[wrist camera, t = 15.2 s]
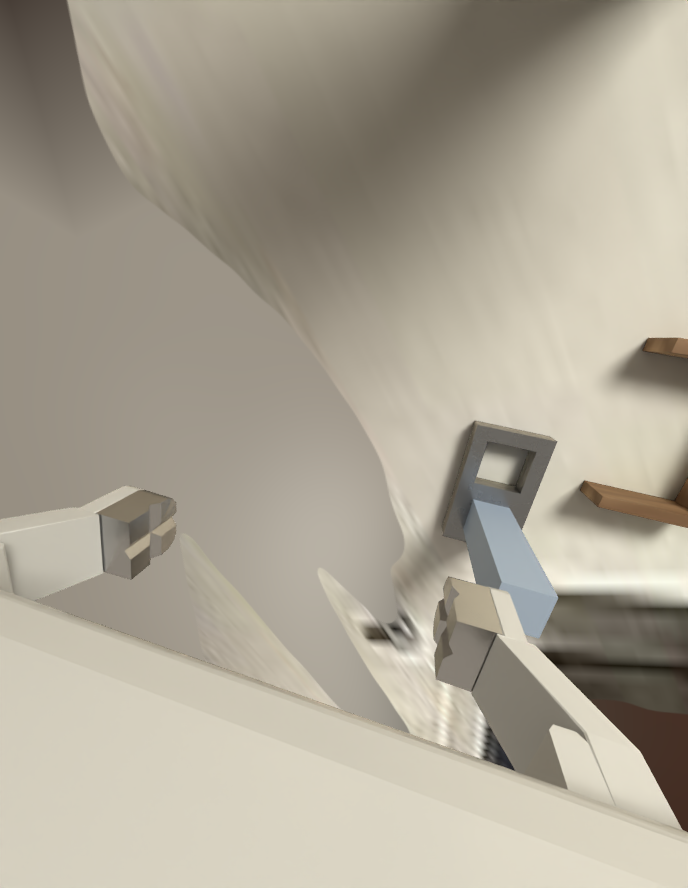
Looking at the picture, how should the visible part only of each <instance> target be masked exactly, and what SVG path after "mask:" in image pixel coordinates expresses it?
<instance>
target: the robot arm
mask: <svg viewBox="0 0 688 888" xmlns="http://www.w3.org/2000/svg"><path fill="white" fill-rule="evenodd" d="M175 513H176V502H175V501H174V500H173V499H172V498H169V497H166V496H163V495H159V494H156V493H153V492H150V491H146V490H142V489H140V488H136V487H132V486H123V487H121V488H119V489H117V490H115V491H113V492H111V493H109V494H107V495H105V496H103V497H100V498H98V499H96V500H94V501H92V502H90V503H88V504H86V505H84V506H82V507H80V508H75V507H71V508H65V509H59V510H53V511H47V512H41V513H35V514H29V515H23V516H17V517H11V518H5V519H0V888H688V832H686V831H683V830H682V829H681V827H680V825H679V823H678V821H677V819H676V818H675V816H674V814H673V812H672V810H671V808H670V806H669V804H668V803H667V801H666V799H665V797H664V795H663V793H662V791H661V790H660V788H659V786H658V784H657V782H656V780H655V778H654V777H653V775H652V773H651V771H650V769H649V767H648V765H647V764H646V762H645V760H644V758H643V756H642V754H641V753H640V751H639V750H638V749H637V748H636V747H635V746H634V745H633V744H632V743H631V742H630V741H629V740H628V739H627V738H626V737H625V736H624V735H623V734H622V733H621V732H620V731H619V730H618V729H617V728H616V727H615V726H614V725H613V724H612V723H611V722H610V721H609V720H608V719H607V718H606V717H605V716H604V715H603V714H602V713H601V712H600V711H599V710H598V709H597V708H596V707H595V706H594V705H593V704H592V703H591V702H590V701H589V700H588V699H587V698H586V697H585V695H584V694H583V693H582V692H581V691H580V690H579V689H578V688H577V687H576V686H575V685H574V684H573V683H572V682H571V681H570V680H569V679H568V678H567V677H566V676H565V675H564V674H563V673H562V672H561V671H560V670H559V669H558V668H557V667H556V666H555V665H554V664H553V663H552V662H551V661H550V660H549V659H548V658H547V657H546V656H545V655H544V654H543V653H542V652H541V651H540V650H539V649H538V648H537V647H536V646H535V645H533V644H529V643H528V642H527V639H526V636H525V634H524V631H523V628H522V625H521V623H520V620H519V617H518V615H517V612H516V609H515V607H514V604H513V601H512V599H511V596H510V594H509V593H508V592H507V591H504V590H500V589H496V588H492V587H488V586H487V587H486V586H482V585H478V584H474V583H471V582H467V581H463V580H460V579H456V578H452V577H449V576H448V578H447V580H446V582H445V585H444V588H443V592H444V599H442V600H441V601H439V602H438V606H437V609H436V613H435V618H434V627H433V636H434V641H435V642H436V643H437V648H436V651H435V654H434V657H435V674H436V679H437V680H439V681H442V682H445V683H448V684H451V685H453V686H456V687H459V688H462V689H465V690H467V691H470V692H472V696H473V697H474V699H475V701H476V703H477V704H478V706H479V708H480V710H481V711H482V713H483V715H484V717H485V718H486V720H487V722H488V723H489V725H490V727H491V729H492V730H493V732H494V734H495V736H496V737H497V739H498V741H499V743H500V744H501V746H502V748H503V750H504V751H505V753H506V755H507V756H508V758H509V760H510V762H511V763H512V765H513V767H514V769H515V770H516V771H513V770H510V769H508V768H505V767H502V766H499V765H496V764H493V763H491V762H488V761H485V760H482V759H479V758H476V757H474V756H471V755H468V754H465V753H462V752H460V751H457V750H454V749H451V748H448V747H445V746H442V745H440V744H437V743H434V742H431V741H428V740H425V739H423V738H420V737H417V736H414V735H411V734H408V733H406V732H403V731H400V730H397V729H394V728H391V727H389V726H386V725H383V724H380V723H377V722H374V721H371V720H369V719H366V718H363V717H360V716H357V715H355V714H352V713H349V712H346V711H343V710H341V709H338V708H335V707H332V706H329V705H326V704H324V703H321V702H318V701H315V700H312V699H310V698H307V697H304V696H301V695H298V694H295V693H293V692H290V691H287V690H284V689H281V688H279V687H276V686H273V685H270V684H267V683H264V682H262V681H259V680H256V679H253V678H250V677H248V676H245V675H242V674H239V673H236V672H233V671H231V670H228V669H225V668H222V667H219V666H216V665H214V664H211V663H208V662H205V661H202V660H199V659H197V658H193V657H191V656H188V655H185V654H182V653H179V652H177V651H174V650H171V649H168V648H165V647H162V646H160V645H157V644H154V643H151V642H148V641H146V640H143V639H140V638H137V637H134V636H131V635H129V634H126V633H123V632H120V631H117V630H114V629H112V628H109V627H106V626H103V625H100V624H97V623H94V622H92V621H89V620H86V619H83V618H80V617H78V616H75V615H72V614H69V613H66V612H63V611H60V610H58V609H55V608H52V607H49V606H46V605H44V604H41V603H38V602H35V601H36V600H38V599H41V598H43V597H46V596H48V595H51V594H53V593H56V592H58V591H61V590H63V589H66V588H68V587H70V586H73V585H75V584H78V583H81V582H83V581H85V580H88V579H90V578H93V577H95V576H98V575H100V574H103V572H106V573H110V574H113V575H116V576H120V577H123V578H127V579H130V580H131V579H133V578H134V577H135V576H136V575H137V574H139V573H140V572H141V571H143V570H144V569H145V568H146V567H147V566H149V565H150V560H151V558H153V557H156V556H159V555H162V554H163V553H164V552H165V551H166V550H167V549H168V548H169V547H170V545H171V544H172V542H173V540H174V538H175V534H176V523H175V522H174V520H173V518H172V516H173V515H174V514H175Z"/></svg>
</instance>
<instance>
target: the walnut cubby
mask: <svg viewBox="0 0 688 888" xmlns="http://www.w3.org/2000/svg"><path fill="white" fill-rule="evenodd" d="M643 351H646V352H652V353H658V354H664V355H670V356H676V357H681V358H687V359H688V339H683V338H648V340H647V342H646V344H645V346H644V349H643ZM580 491H581V492H583V493H584V494H585V495H586V496H587V497H588V498H589V499H590V500H591V501H592V502H593V503H594V504H595V505H597V506H598V507H601V508H605V509H609V510H613V511H618V512H622V513H626V514H630V515H635V516H639V517H643V518H648V519H652V520H656V521H660V522H665V523H669V524H673V525H677V526H682V527H686V528H688V478H687V480H686V482H685V483H684V485H683V487H682V489H681V491H680V492H679V494H678V496H677V498H676V500H675V501H673V500H668V499H664V498H659V497H655V496H650V495H646V494H642V493H637V492H633V491H628V490H624V489H619V488H615V487H611V486H606V485H602V484H597V483H593V482H588V481H584V483H583V485H582V487H581V489H580Z"/></svg>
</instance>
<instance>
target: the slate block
mask: <svg viewBox="0 0 688 888" xmlns="http://www.w3.org/2000/svg"><path fill="white" fill-rule="evenodd" d="M463 530H464V535H465V539H466V543H467V547H468V551H469V556H470V560H471V564H472V568H473V572H474V577H475V581H476V584H478V585H482V586H486V587H487V586H488V587H492V588H496V589H500V590H504V591H507V592H508V593H509V594H510V596H511V599H512V601H513V604H514V607H515V609H516V612H517V615H518V617H519V620H520V623H521V625H522V628H523V631H524V634H525V635H529V636H532V637H536V638H539V637H540V635H541V633H542V631H543V629H544V627H545V625H546V622H547V620H548V618H549V616H550V614H551V612H552V610H553V608H554V606H555V604H556V601H557V599H558V596H557V594H556V593H555V591H554V589H553V587H552V585H551V583H550V582H549V580H548V578H547V576H546V574H545V572H544V570H543V569H542V567H541V565H540V563H539V561H538V559H537V558H536V556H535V554H534V552H533V550H532V548H531V547H530V545H529V543H528V541H527V539H526V537H525V536H524V534H523V532H522V530H521V528H520V526H519V525H518V523H517V521H516V519H515V517H514V515H513V514H512V512H511V510H510V508H507V507H503V506H498V505H494V504H490V503H486V502H482V501H478V500H474V499H473V501H472V504H471V507H470V510H469V513H468V516H467V519H466V522H465V525H464V529H463Z"/></svg>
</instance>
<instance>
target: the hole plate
mask: <svg viewBox="0 0 688 888" xmlns="http://www.w3.org/2000/svg"><path fill="white" fill-rule="evenodd" d="M488 441H489V442H494V443H499V444H503V445H508V446H512V447H517V448H522V449H526V450H529V452H528V455H527V458H526V460H525V463H524V466H523V468H522V471H521V474H520V476H519V479H518V482H517V484H516V486H512V485H507V484H503V483H499V482H494V481H490V480H486V479H482V478H477V477H476V476H477V473H478V470H479V467H480V464H481V461H482V458H483V455H484V451H485V448H486V445H487V442H488ZM556 443H557V441H556V440H554V439H553V438H551V437H550V436H545V435H541V434H536V433H531V432H526V431H522V430H517V429H512V428H507V427H503V426H498V425H493V424H489V423H484V422H479V421H475V422H474V425H473V428H472V431H471V435H470V438H469V441H468V444H467V447H466V451H465V454H464V457H463V460H462V464H461V467H460V470H459V473H458V477H457V480H456V483H455V486H454V490H453V493H452V496H451V499H450V502H449V506H448V509H447V512H446V515H445V519H444V522H443V525H442V532H443V536H446V537H449V538H453V539H457V540H461V541H465V542H466V539H465V535H464V530H463V529H464V525H465V522H466V519H467V516H468V513H469V510H470V507H471V504H472V501H473V499H474V500H478V501H482V502H486V503H490V504H494V505H498V506H503V507H507V508H510V510H511V512H512V514H513V515H514V517H515V519H516V521H517V523H518V525H519V526H520V528H521V530H522V528H523V526H524V523H525V521H526V518H527V516H528V513H529V511H530V508H531V506H532V503H533V501H534V498H535V496H536V493H537V491H538V488H539V486H540V483H541V481H542V478H543V476H544V473H545V471H546V468H547V466H548V463H549V461H550V458H551V456H552V453H553V451H554V448H555V446H556Z"/></svg>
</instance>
